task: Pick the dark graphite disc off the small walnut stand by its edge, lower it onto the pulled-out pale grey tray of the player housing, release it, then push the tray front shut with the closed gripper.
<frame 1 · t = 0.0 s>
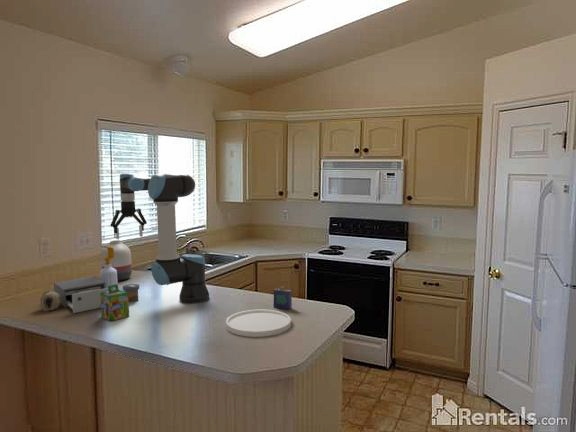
hand: (129, 237, 252), 28 cm above the worktop, fingers open, 13 cm apart
chalk box: (115, 317, 200), on the worktop
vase: (117, 279, 270), on the worktop
garlic bulb: (51, 309, 212), on the worktop
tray: (88, 296, 218), point 5 cm above the worktop, slide at 11.5 cm
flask: (282, 308, 211), on the worktop
soap bottle: (109, 289, 248), on the worktop
stand: (131, 300, 226), on the worktop
housing: (80, 299, 228), on the worktop
disc: (131, 289, 225), point 6 cm above the worktop, touching stand
plate: (258, 325, 190), on the worktop
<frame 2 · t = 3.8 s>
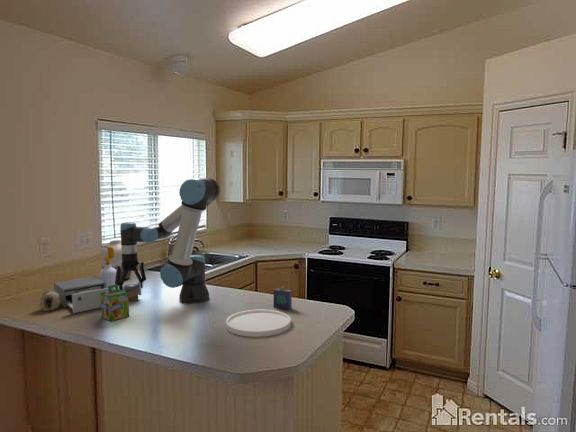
hand: (131, 296, 226), 2 cm above the worktop, fingers closed on disc, 8 cm apart
disc: (131, 289, 225), point 6 cm above the worktop, touching gripper, stand
everything else where it was.
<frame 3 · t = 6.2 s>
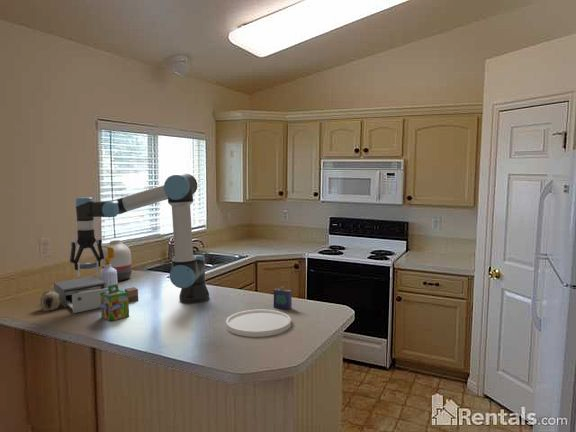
hand: (88, 274, 216), 16 cm above the worktop, fingers closed on disc, 8 cm apart
disc: (87, 267, 216), point 19 cm above the worktop, touching gripper
everything else where it was.
when the fingers open (2 cm above the worktop, at t = 8.7 s): disc stays where it is, resting on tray.
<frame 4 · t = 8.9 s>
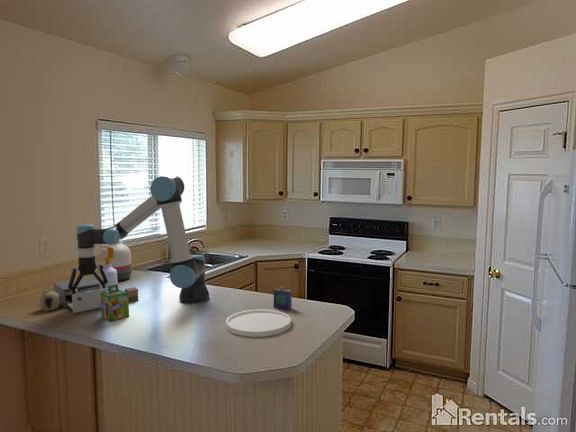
hand: (89, 299, 217), 3 cm above the worktop, fingers open, 11 cm apart
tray: (88, 296, 218), point 5 cm above the worktop, slide at 11.5 cm, touching disc
disc: (89, 294, 217), point 5 cm above the worktop, touching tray
everything else where it was.
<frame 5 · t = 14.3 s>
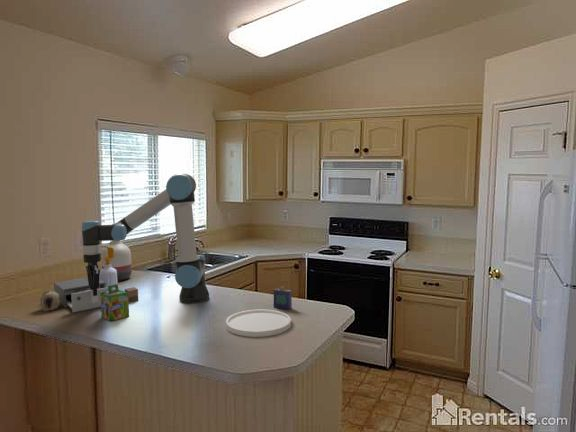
hand: (94, 301, 211), 4 cm above the worktop, fingers closed
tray: (87, 295, 219), point 5 cm above the worktop, slide at 10.3 cm, touching disc, gripper
disc: (88, 294, 218), point 5 cm above the worktop, touching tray
everything else where it was.
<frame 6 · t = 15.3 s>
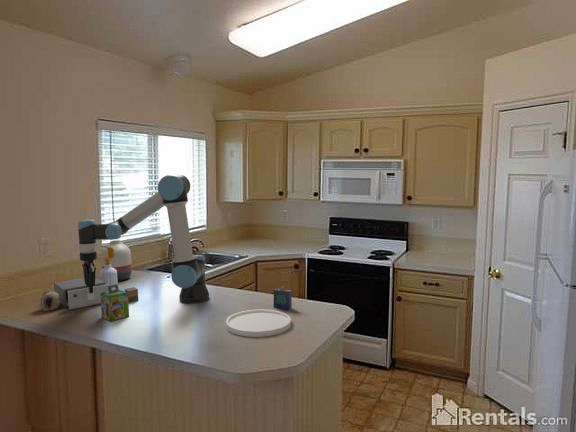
hand: (90, 299, 215), 4 cm above the worktop, fingers closed
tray: (83, 293, 223), point 5 cm above the worktop, slide at 4.4 cm, touching disc, gripper
disc: (84, 291, 222), point 5 cm above the worktop, touching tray
everything else where it was.
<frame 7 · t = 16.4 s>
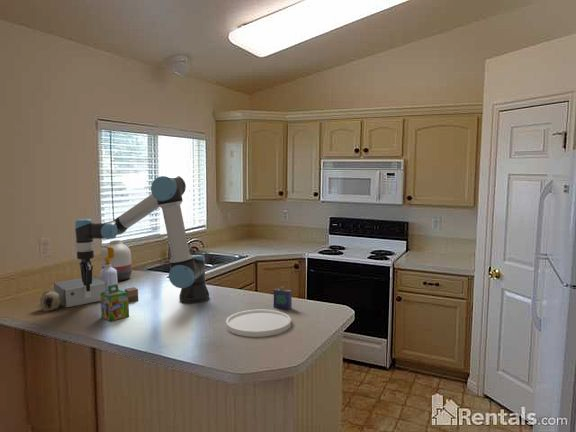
hand: (87, 297, 218), 4 cm above the worktop, fingers closed
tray: (81, 291, 227), point 5 cm above the worktop, slide at 0.0 cm, touching disc, gripper
disc: (81, 290, 226), point 5 cm above the worktop, touching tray
everything else where it was.
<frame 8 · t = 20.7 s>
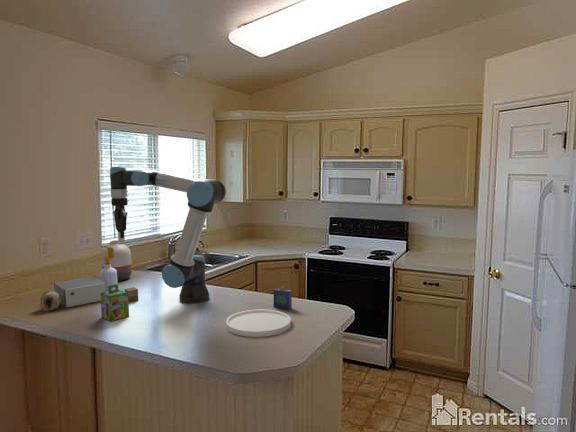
hand: (121, 244, 222), 29 cm above the worktop, fingers closed
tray: (81, 291, 227), point 5 cm above the worktop, slide at 0.0 cm, touching disc
everything else where it was.
at the end: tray slide at 0.0 cm; disc inside the target area on the housing (2.4 cm from its centre), point 5.5 cm above the housing's base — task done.
